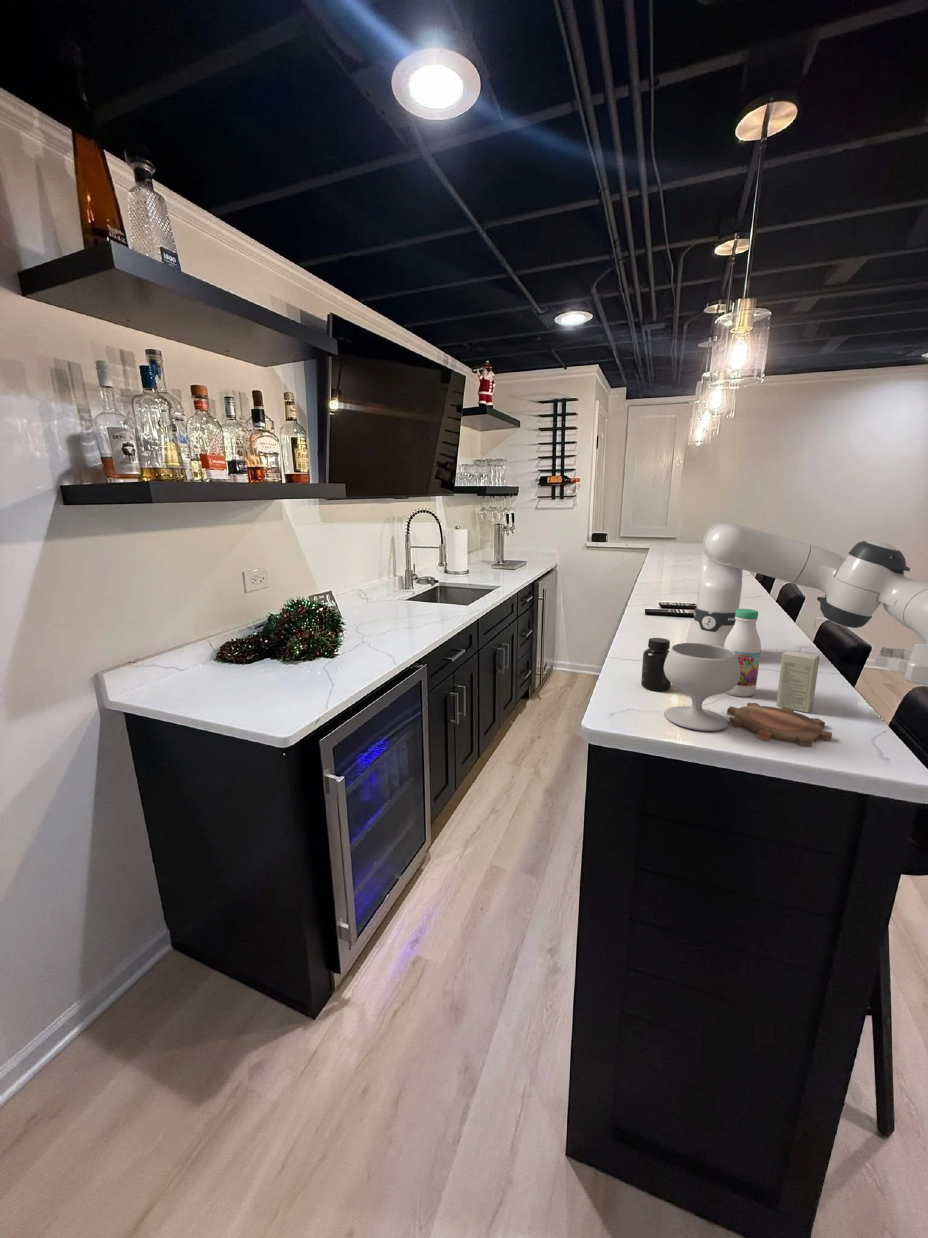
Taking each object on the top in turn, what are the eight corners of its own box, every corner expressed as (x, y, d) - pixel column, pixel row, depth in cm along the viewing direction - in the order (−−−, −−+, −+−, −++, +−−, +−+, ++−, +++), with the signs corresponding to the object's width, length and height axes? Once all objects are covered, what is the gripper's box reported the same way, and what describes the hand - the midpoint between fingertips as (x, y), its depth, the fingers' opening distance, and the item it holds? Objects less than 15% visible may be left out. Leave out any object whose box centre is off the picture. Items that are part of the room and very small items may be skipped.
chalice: (657, 727, 100) (664, 655, 96) (661, 702, 112) (667, 638, 109) (735, 740, 94) (746, 664, 91) (730, 713, 106) (739, 645, 103)
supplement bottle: (665, 683, 125) (670, 636, 122) (674, 692, 118) (679, 644, 116) (637, 681, 126) (641, 636, 123) (644, 691, 119) (648, 643, 116)
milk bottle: (716, 684, 124) (726, 606, 120) (751, 688, 121) (762, 608, 117) (720, 695, 117) (731, 612, 112) (758, 699, 114) (770, 614, 110)
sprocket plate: (741, 701, 113) (742, 695, 113) (839, 726, 100) (840, 719, 100) (713, 725, 100) (714, 718, 100) (820, 756, 88) (821, 749, 88)
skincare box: (813, 708, 109) (822, 655, 107) (808, 714, 106) (817, 659, 104) (779, 700, 114) (787, 649, 111) (774, 705, 111) (782, 652, 108)
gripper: (975, 704, 82) (868, 682, 91) (972, 676, 96) (880, 660, 105) (984, 667, 80) (875, 649, 90) (980, 645, 95) (886, 631, 104)
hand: (878, 655), depth 98 cm, fingers open, 8 cm apart
